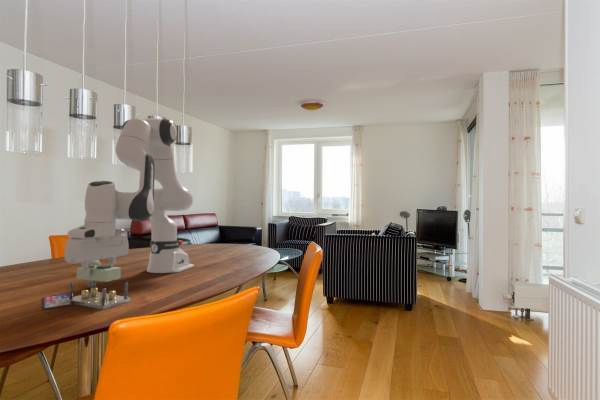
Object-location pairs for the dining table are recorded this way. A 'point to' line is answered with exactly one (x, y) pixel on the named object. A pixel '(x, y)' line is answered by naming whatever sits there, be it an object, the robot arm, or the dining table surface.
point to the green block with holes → (100, 273)
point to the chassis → (98, 297)
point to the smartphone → (56, 302)
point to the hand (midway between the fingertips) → (98, 273)
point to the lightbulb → (95, 262)
